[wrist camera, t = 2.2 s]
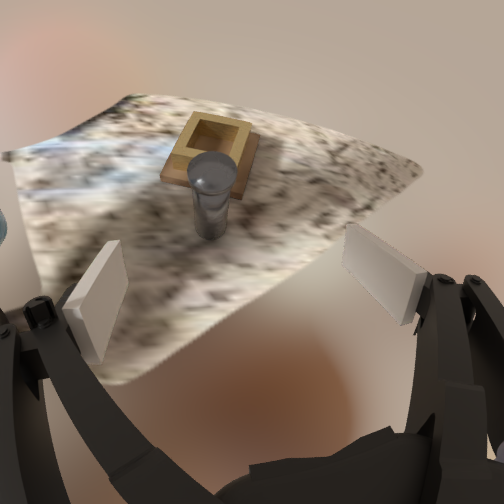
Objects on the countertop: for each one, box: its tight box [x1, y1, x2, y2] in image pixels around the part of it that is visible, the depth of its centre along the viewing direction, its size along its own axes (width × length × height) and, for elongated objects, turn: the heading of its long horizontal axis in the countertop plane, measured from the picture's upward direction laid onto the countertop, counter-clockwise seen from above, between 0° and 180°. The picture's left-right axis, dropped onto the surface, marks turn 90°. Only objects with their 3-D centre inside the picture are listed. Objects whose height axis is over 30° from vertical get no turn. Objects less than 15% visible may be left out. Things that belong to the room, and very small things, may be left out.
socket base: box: [160, 120, 260, 200], centre depth 40 cm, size 12×12×2 cm
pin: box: [187, 151, 237, 240], centre depth 31 cm, size 5×5×12 cm
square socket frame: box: [171, 111, 252, 174], centre depth 38 cm, size 9×9×4 cm
